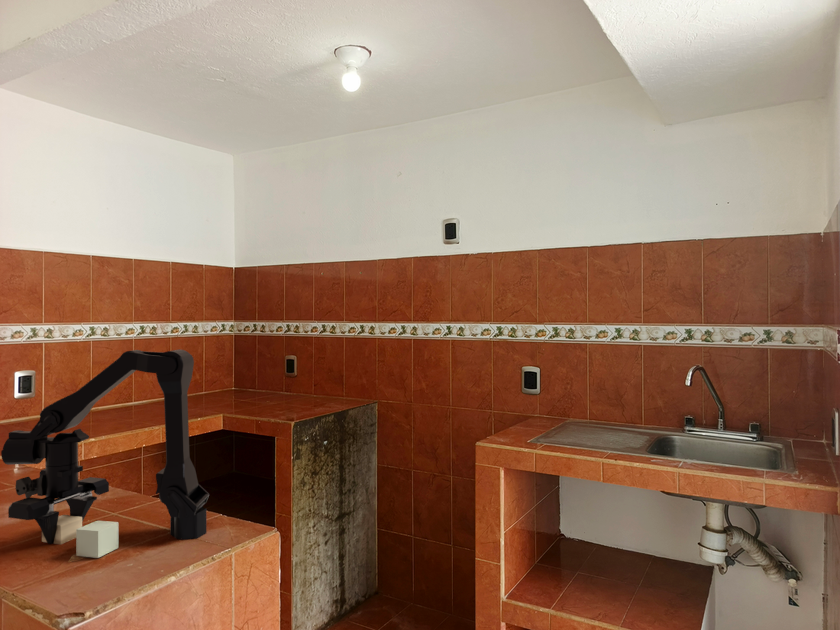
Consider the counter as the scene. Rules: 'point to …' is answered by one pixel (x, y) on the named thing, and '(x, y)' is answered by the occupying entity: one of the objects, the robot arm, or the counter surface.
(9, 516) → the robot arm
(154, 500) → the counter surface
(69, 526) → the maple block
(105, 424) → the counter surface
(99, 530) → the sage block
